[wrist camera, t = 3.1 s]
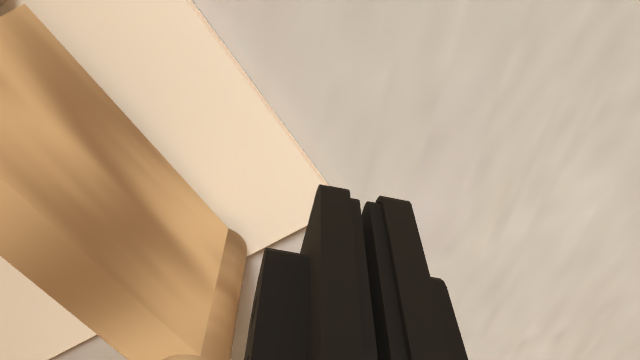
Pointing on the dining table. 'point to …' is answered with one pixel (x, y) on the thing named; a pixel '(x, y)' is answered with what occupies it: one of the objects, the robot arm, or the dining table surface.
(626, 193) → the dining table surface
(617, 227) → the dining table surface
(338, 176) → the dining table surface
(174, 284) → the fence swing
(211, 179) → the card
